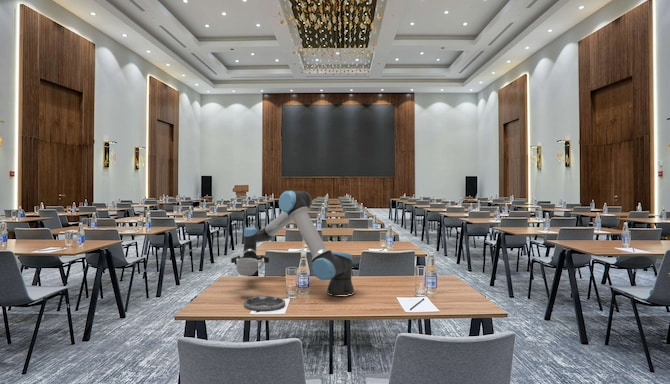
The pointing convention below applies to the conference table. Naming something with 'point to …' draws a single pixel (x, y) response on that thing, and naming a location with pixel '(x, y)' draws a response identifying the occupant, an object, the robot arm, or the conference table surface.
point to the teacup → (248, 266)
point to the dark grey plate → (264, 303)
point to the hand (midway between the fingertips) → (250, 263)
